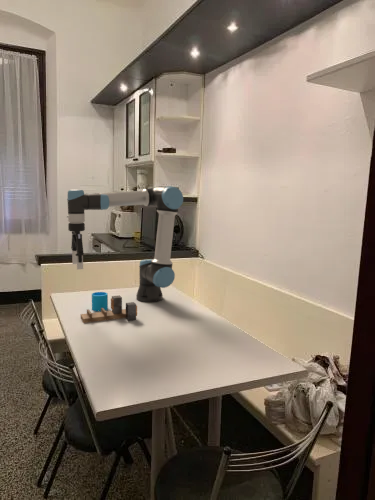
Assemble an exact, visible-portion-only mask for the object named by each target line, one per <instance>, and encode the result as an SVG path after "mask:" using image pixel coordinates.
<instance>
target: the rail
mask: <svg viewBox="0 0 375 500" xmlns="http://www.w3.org/2000/svg"><path fill="white" fill-rule="evenodd" d="M110 309H111V310H105V309H104V308H101V311H95V312H92V311H90V309H89V308H88V309H86V313H81V314H80V320H81V321H82V322H83V324H87V323H94V322H104V321H110V320H111V321H112V320H119V319H126V308H124V309H123V297H122V296H121V295H112V296H111V298H110Z"/></svg>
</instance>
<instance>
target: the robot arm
mask: <svg viewBox="0 0 375 500" xmlns="http://www.w3.org/2000/svg"><path fill="white" fill-rule="evenodd" d="M66 200H67V214H68V215H66V218H67V221H68V225H67V226H68V232H71V251H72V252H71V256H72V257H71V258H72V260H71V261H72V262H71V263H72V265H76V270H83V269H84V254H85V253H84V247H83V246H84V245H83V243H84V242H83V234H82V233H81V232H85V229H86V227H85V226H86V225H85V221H86V220H85V218H86V217H85V216H86V215H85V211H90V210H91V211H94V210H95V211H96V210H97V211H99V210H101V211H103V210H104V211H106V210H108V209H109V208H112V207H127V206H128V207H129V206H140V205H141V206H144V207H156V212H157V213H158V220H157V221H158V222H157V229H156V230H157V231H156V240H155V247H154V249H155V250H154V256H153V258H150V259H142V260H140V261H139V266H138V267H139V286H138V290H137V292H136V294H135V295H136V300H137V301H139V302H142V303H144V302H145V303H155V302H159V301H162V300H164V299H163V298H164V297H163V296H164V295H163V292H162V289H165V288H167V287H169V286H171V285H172V284H173V283H174V281H175V277H176V273H175V271H174V269H173V262H172V260H171V255H172V247H173V246H172V245H173V236H174V227H175V218H176V215H178V213H179V210H180V207H181V206H182V205H183V203H184V195H183V192H182V191H181V190H180V189H179V187H176V186H172V185H166V186H165V185H162V186H160V185H159V186H155V187H149V188H143V189H142V190H131V191H129V190H128V191H113V192H112V191H111V192H95V193H87V192H86V193H85V192H84V190H83V189H69V190H68V191H67V199H66ZM161 288H162V289H161Z"/></svg>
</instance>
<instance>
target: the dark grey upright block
mask: <svg viewBox="0 0 375 500" xmlns="http://www.w3.org/2000/svg"><path fill="white" fill-rule="evenodd" d="M125 309H126V318H125V320H126V321H127V322H133V321H137V316H138V305H137V304H136V303H135V302H134V301H131V302H125Z"/></svg>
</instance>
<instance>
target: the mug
mask: <svg viewBox="0 0 375 500" xmlns="http://www.w3.org/2000/svg"><path fill="white" fill-rule="evenodd" d="M108 298H109V297H108V293H107V292H106V291H105V292H104V291H96V292H92V293H91V311H93V312H101V308H104V309H105V311H108V309H109V305H108V304H109V303H108V300H109V299H108Z"/></svg>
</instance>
